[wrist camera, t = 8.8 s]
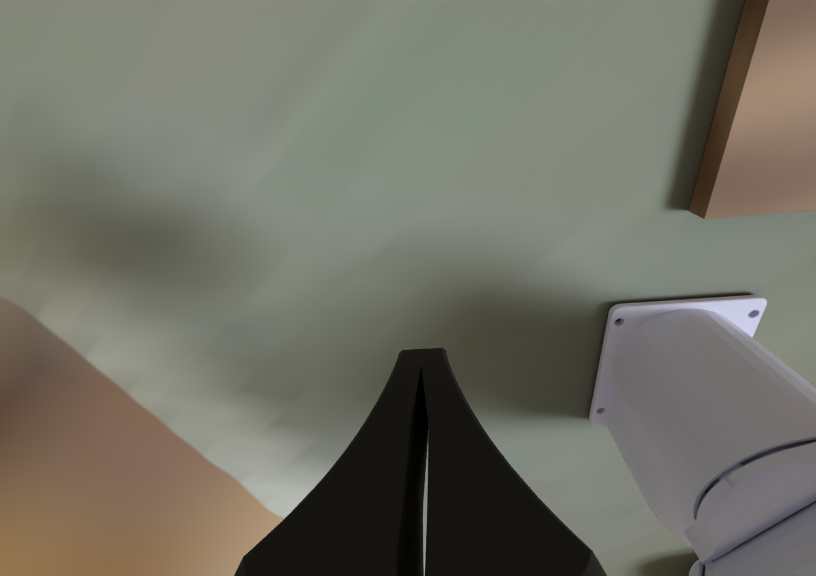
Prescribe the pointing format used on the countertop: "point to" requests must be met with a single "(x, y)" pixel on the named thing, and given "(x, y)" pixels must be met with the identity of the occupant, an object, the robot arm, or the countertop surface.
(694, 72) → the countertop surface
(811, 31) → the board
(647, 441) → the robot arm
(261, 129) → the countertop surface
